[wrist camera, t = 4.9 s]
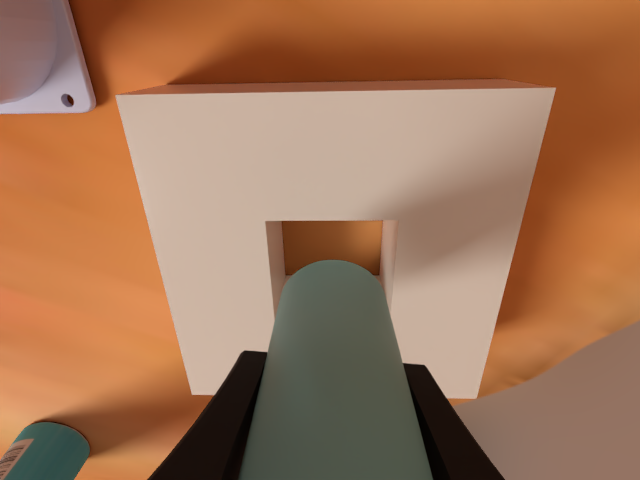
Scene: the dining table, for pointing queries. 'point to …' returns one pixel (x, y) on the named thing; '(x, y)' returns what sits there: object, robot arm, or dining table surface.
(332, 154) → the socket block
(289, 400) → the dowel
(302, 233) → the dining table surface
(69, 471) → the tube
